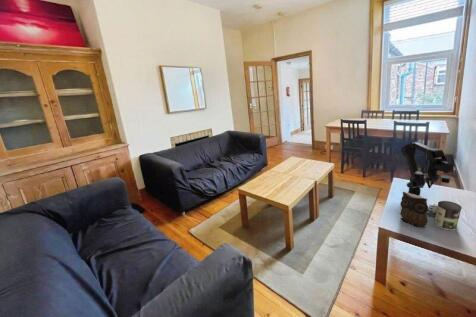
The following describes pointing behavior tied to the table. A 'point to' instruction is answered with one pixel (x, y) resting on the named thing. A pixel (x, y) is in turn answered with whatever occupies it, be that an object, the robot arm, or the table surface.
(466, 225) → the table surface
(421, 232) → the table surface
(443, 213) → the coffee can
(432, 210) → the block
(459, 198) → the table surface
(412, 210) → the owl
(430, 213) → the panel
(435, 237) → the table surface
